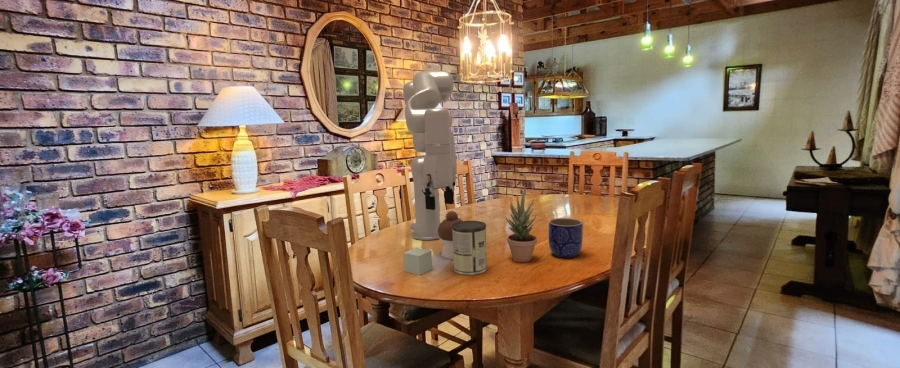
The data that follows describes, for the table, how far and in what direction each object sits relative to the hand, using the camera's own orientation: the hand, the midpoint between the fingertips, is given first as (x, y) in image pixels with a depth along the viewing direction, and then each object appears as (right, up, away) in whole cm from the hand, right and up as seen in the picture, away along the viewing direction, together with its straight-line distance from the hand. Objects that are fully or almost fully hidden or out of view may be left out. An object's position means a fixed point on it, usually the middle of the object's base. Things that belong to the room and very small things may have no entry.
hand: (440, 206), depth 138 cm
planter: (+41, -17, +12) cm, 46 cm away
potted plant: (+26, -18, +9) cm, 33 cm away
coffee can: (+9, -19, +1) cm, 21 cm away
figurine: (+4, -17, +15) cm, 24 cm away
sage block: (-7, -20, +1) cm, 21 cm away
